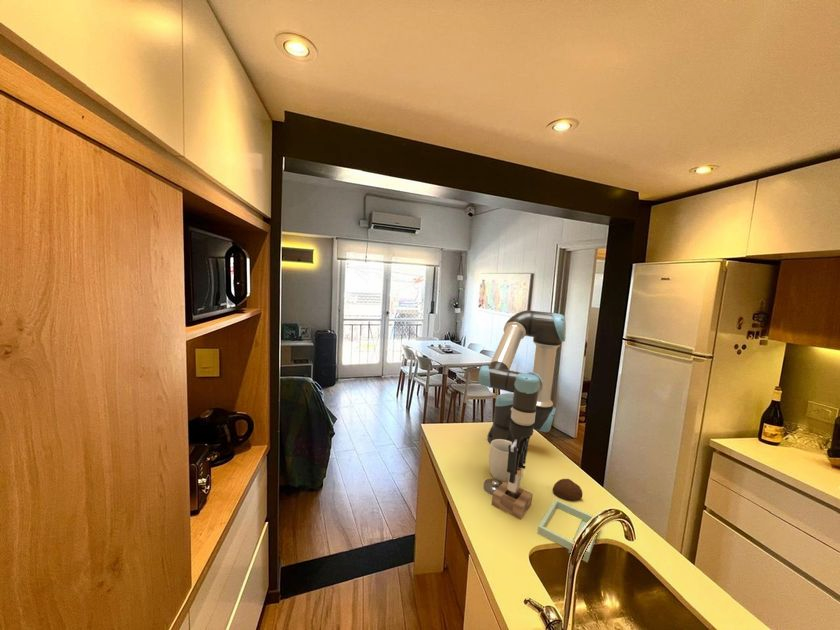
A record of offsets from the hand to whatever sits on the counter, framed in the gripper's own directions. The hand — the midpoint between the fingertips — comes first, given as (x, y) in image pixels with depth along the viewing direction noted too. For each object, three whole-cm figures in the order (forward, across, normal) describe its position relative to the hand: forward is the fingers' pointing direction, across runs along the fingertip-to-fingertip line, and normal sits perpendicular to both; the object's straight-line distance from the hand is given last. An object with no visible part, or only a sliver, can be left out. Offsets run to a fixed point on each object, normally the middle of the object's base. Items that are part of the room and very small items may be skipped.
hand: (513, 488), depth 112 cm
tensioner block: (+7, 0, 0) cm, 7 cm away
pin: (+6, 0, 0) cm, 6 cm away
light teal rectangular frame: (+7, -2, +18) cm, 19 cm away
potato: (+7, -20, +13) cm, 25 cm away
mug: (+7, -14, -9) cm, 18 cm away
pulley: (+7, -4, -8) cm, 11 cm away
